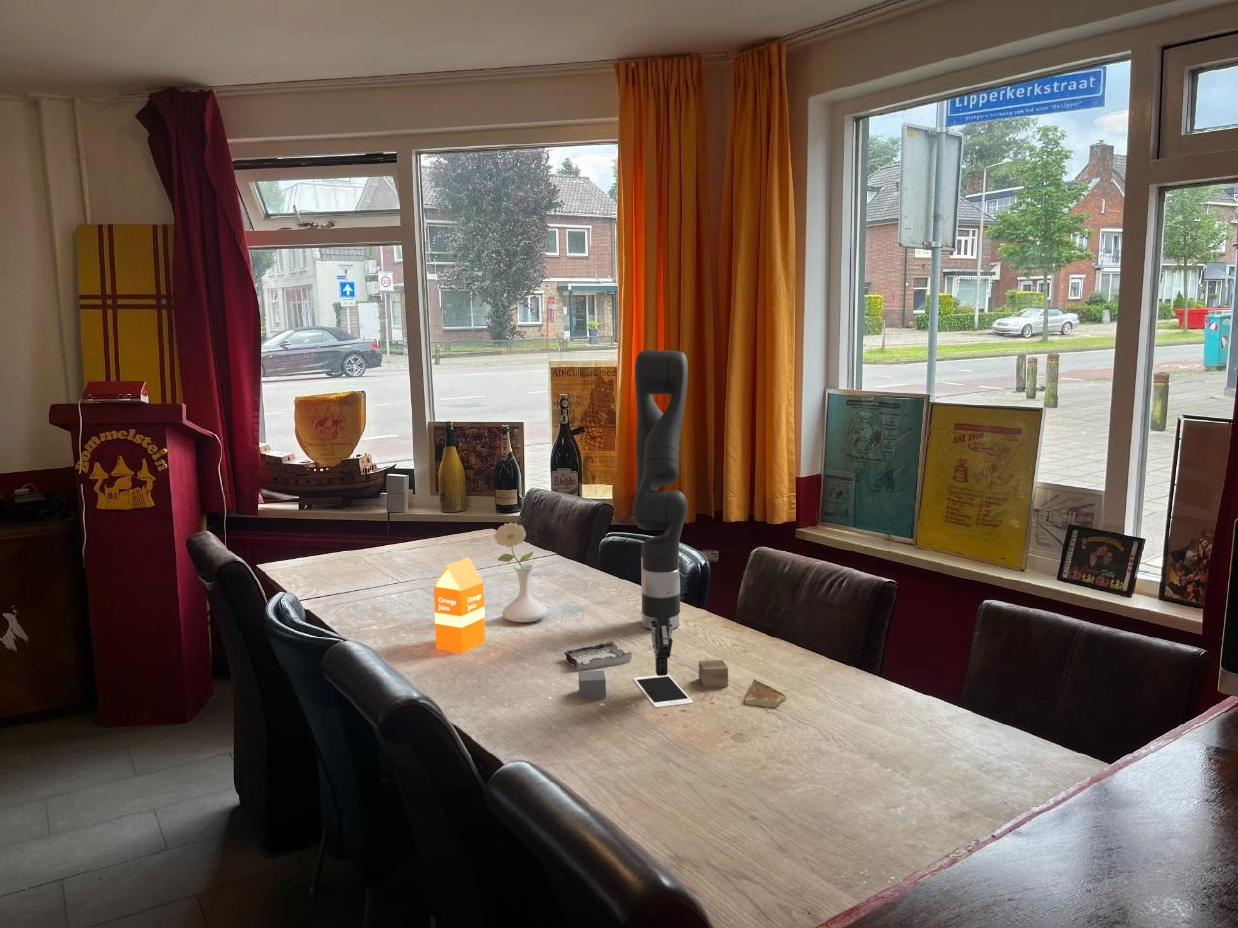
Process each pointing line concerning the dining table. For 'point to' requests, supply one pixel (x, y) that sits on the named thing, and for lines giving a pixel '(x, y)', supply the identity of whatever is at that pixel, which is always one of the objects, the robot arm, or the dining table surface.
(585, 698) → the charcoal block
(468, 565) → the orange juice
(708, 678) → the walnut block
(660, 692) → the cell phone
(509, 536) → the flower in vase
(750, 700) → the shard
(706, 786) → the dining table surface
